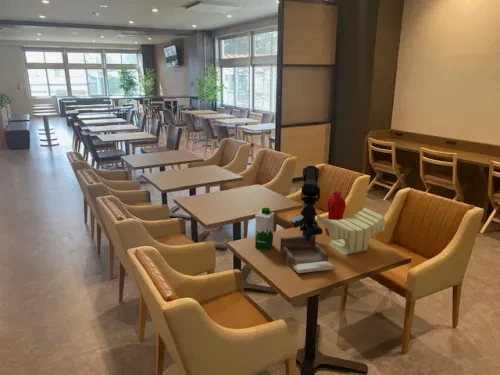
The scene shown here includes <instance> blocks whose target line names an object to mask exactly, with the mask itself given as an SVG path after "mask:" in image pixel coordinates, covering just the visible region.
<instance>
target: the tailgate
mask: <svg viewBox="0 0 500 375" xmlns="http://www.w3.org/2000/svg"><path fill="white" fill-rule="evenodd" d="M334 267H335V266H334V265H333V264H332V263H331V262H329V260H328V261H323V262H314V263H305V264H296V265H293V268H292V269H293V270H295V272H296V273H298V274H302V273H310V272H318V271H327V270H328V271H329V270H335V268H334Z"/></svg>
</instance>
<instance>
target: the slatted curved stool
mask: <svg viewBox="0 0 500 375" xmlns="http://www.w3.org/2000/svg"><path fill="white" fill-rule="evenodd" d="M316 221H318V222H319V223H320V224H322V225H323V226H324V227H326V228H327V229H328V231H329V235H330V236H329V235H328V236H329V238H330V239H332V240H331V241H330V242H329V244H328V246H330V245H331V246H330V247H332V248H333V249H335V251H338V252H339V253H341V254H342V255H345V256H347V255H351V254H356V253H361V252H365V251H367V250H368V247H369V243H370V241H371V238H372V235H374V234H375V233H376V232H385V230H386V221H385V217H384V216H383V215H381V214H379V213H377V212H375V211H373V210H370V209H369V208H367V207H364V208H362V209H361V210H359V211H358V212H357V213H355V214H353V215H351V216H349V217H346V218H343V219H342V220H338V221H337V220H329V219H328V218H325V217H323V216H320V215H319V214H317V215H316Z"/></svg>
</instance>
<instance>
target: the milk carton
mask: <svg viewBox="0 0 500 375" xmlns="http://www.w3.org/2000/svg"><path fill="white" fill-rule="evenodd" d="M270 209H271V208H270V207H262V208H261V210H259V211H257V213H256V214H255V215H254V220H255V226H254V227H255V230H254V231H255V233H254V234H255V236H254V237H255V241H254V242H255V244H254V245H255V246H254V247H255V249H259V250H264V251H265V250H266V251H269V250H270V249H271V247H272V246H273V244H274V242H273V241H274V217H275V215H274V214H275V212H272V211H271V210H270Z"/></svg>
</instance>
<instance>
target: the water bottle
mask: <svg viewBox="0 0 500 375" xmlns="http://www.w3.org/2000/svg"><path fill="white" fill-rule="evenodd" d="M326 207H327V212H328V217H327V219H329V220H337V221H338V220H342V219H344V215H345V212H346V211H345V210H346V207H347V205H346V200H345V199H344V198H343V197H342V191H339V190H334V191H333V193H332V196H331V197H329V198H328V200H327V202H326ZM324 227H325V226H324ZM324 231H325V233H326V234H327V236H329V237H330V235H329V231H328V229H327V228H326V227H325V228H324Z"/></svg>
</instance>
